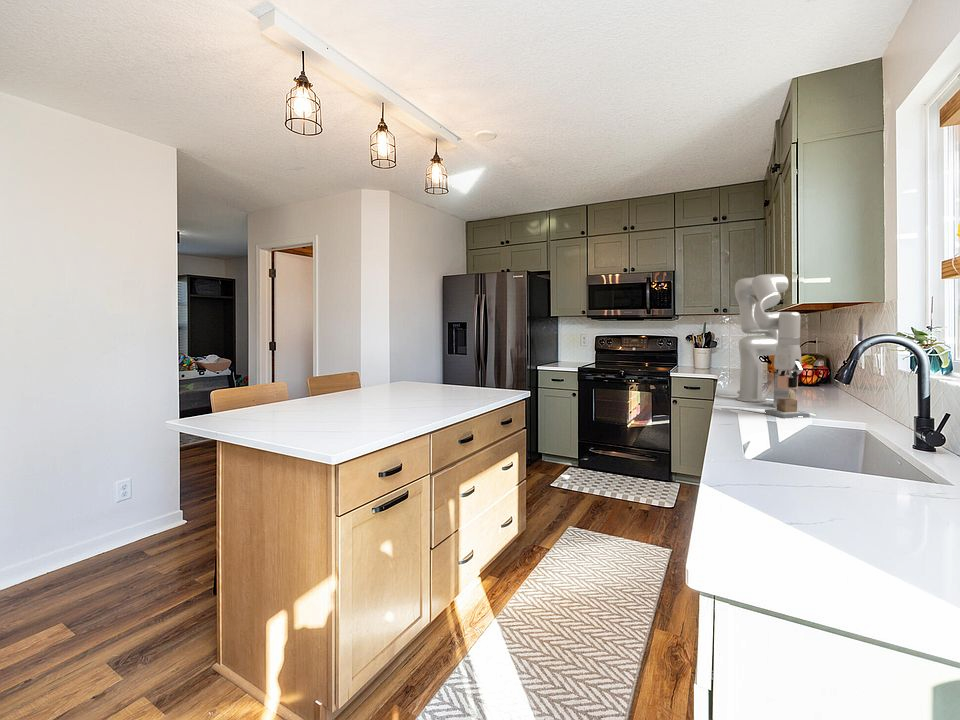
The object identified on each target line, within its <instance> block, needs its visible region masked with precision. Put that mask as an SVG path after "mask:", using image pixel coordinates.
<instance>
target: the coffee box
mask: <svg viewBox="0 0 960 720" xmlns="http://www.w3.org/2000/svg"><path fill="white" fill-rule="evenodd" d="M793 373H794V372H793ZM777 374H778V373H777V371H776V372H775V371H774V372H773V408H775V407H777V399H780V398H790V399H794V400H797V389H781V388H777V377H778V375H777ZM785 376H790V375H789V370H787V371H786V375H785Z"/></svg>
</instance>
